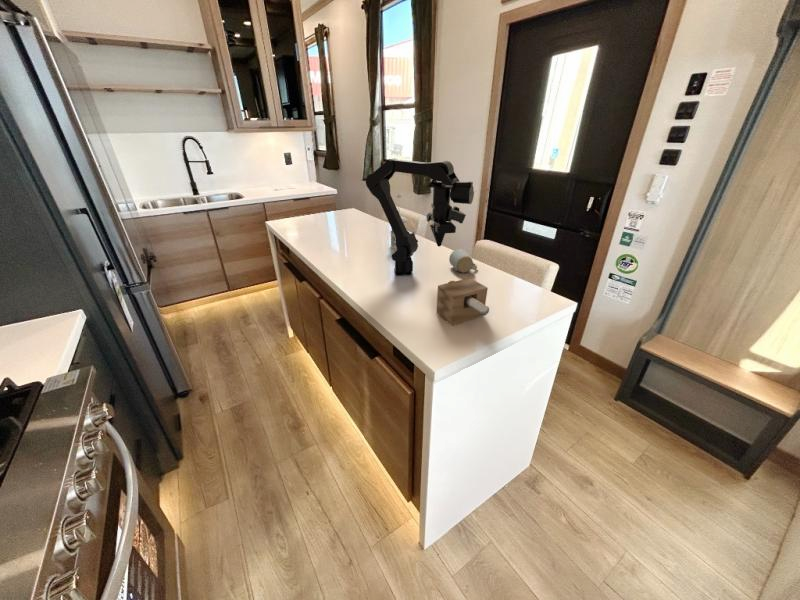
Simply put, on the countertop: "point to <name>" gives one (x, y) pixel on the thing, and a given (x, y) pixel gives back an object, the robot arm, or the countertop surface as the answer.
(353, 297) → the countertop surface
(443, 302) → the hitch block
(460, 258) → the ceramic mug
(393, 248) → the french press
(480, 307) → the steel pin
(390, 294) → the countertop surface
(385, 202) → the robot arm
